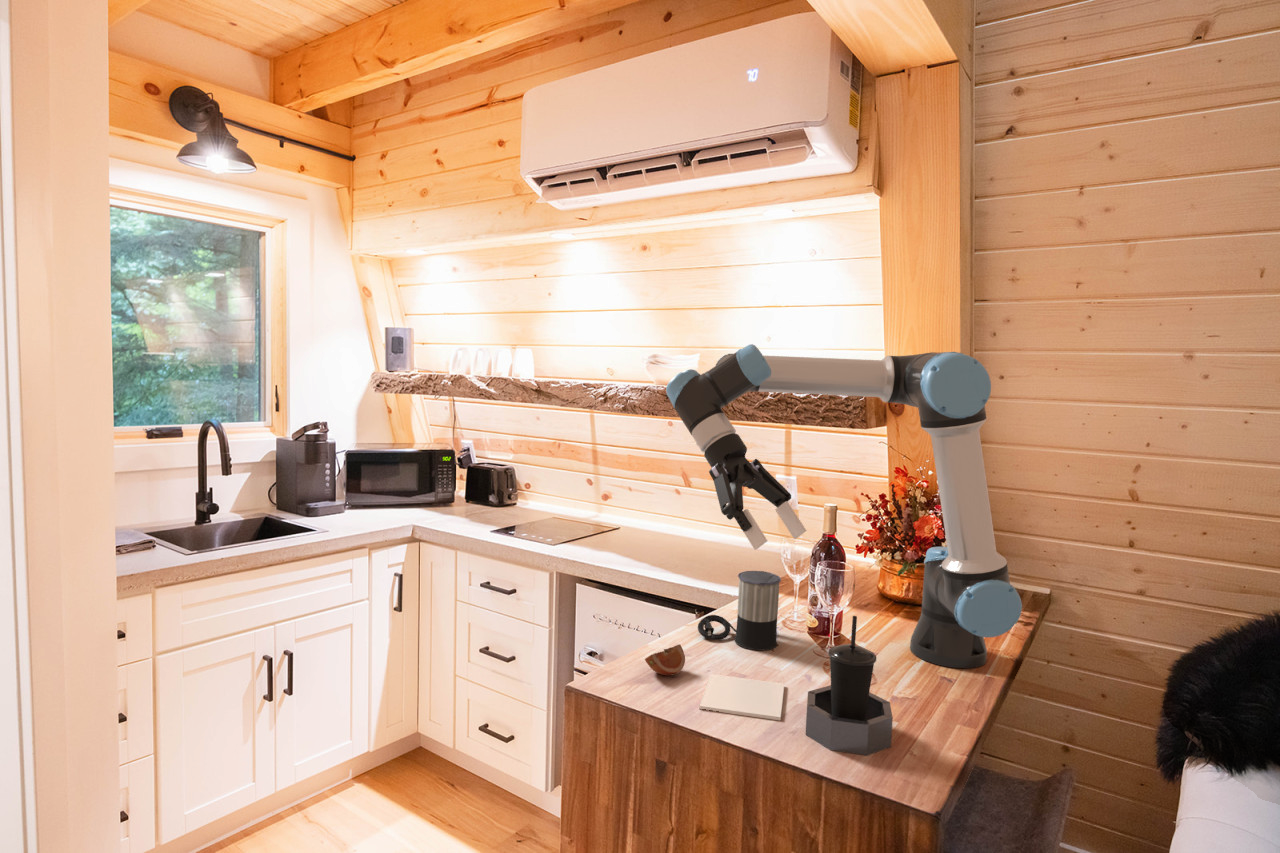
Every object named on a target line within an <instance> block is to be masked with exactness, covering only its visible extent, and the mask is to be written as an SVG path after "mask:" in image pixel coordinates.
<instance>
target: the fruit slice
mask: <svg viewBox="0 0 1280 853" xmlns="http://www.w3.org/2000/svg"><path fill="white" fill-rule="evenodd" d="M644 661H645V663H646V664H647V665H648V666H649V668H650V669H651V670H652V671H653V672H655V673H656V674H659V675H662V676H674V675H676V674H678V673H679V672H681V671H682V669H684V666H685V663H686V656H685V652H684V649H683V647H682V645H681V644H676V645H673V646H671V647H668V648H663V650H662V651H659V652H655V653H652V654H649V656H646V657H645V659H644Z"/></svg>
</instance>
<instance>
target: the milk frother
mask: <svg viewBox="0 0 1280 853" xmlns="http://www.w3.org/2000/svg"><path fill="white" fill-rule="evenodd" d="M737 577H738V579H739V580H738V597H737V599H738V600H737V620H736V629H735V628H734V626H732V624H731V623H730V622H729V620H727V619H726V618H724V617H723V616H720V615H717V614H710V615H707V616H705V617H703V618H701V620H700V621H699V622H698V624H697V632H698V633H699V635H701V636H702V637H704V638H705V639H709V640H716V641H718V640H719V641H720V640H724V639H726V638H727V637H729V635H730V633H731V629H732V630H733V631H734V633H735V637H734V638H733V639H734V643H735V644H736V645H738V646H740V647H741V648H744V649H746V650H747V649H748V650H753V651H768V650H769V651H770V650H772V649H775V648H776V647H777V646H778V641H777V638H778V631H777V630H778V629H777V628H778V614H779V598H780V597H779V596H780V582H781V581H782V578H781V577H780V576H779V575H777V574H775V573H773V572H771V571H769V572H768V571H764V570H746V571H742V572H740V573H738V574H737ZM713 622H716V623H719V624H721V625H722V626H723V627H724V631H723V632H720V633H718V634H715V633H714V631H715V627H713V625H712V623H713Z"/></svg>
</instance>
